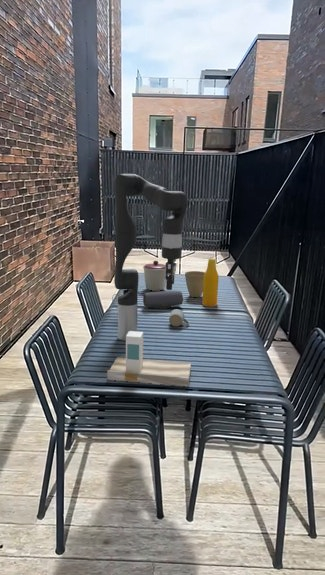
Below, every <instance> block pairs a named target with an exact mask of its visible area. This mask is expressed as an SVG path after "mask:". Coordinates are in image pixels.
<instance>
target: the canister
mask: <svg viewBox="0 0 325 575" xmlns="http://www.w3.org/2000/svg"><path fill="white" fill-rule="evenodd" d="M142 268H143V275H144V284H145V289H146V290H147V289H148V290H147V291H150V290H152V291H151V292H161V291H160V290H162V291H164V289H165V288H166V279H165V277H166V273H165V271H166V267H165V264H163V263H159V261H158V260H153V262H152V263H147V264H145V265H143V266H142Z"/></svg>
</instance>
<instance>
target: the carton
mask: <svg viewBox="0 0 325 575" xmlns="http://www.w3.org/2000/svg"><path fill="white" fill-rule="evenodd" d="M125 358H126V371H130V372H141V369H142V367H143V358H144V331H137V332H136V331H129V332H128V334H127V335H126V341H125Z"/></svg>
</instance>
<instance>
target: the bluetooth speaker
mask: <svg viewBox="0 0 325 575" xmlns="http://www.w3.org/2000/svg"><path fill="white" fill-rule="evenodd" d="M142 297H143V298H142V302H143V306H144V307H145V308H154V309H155V308H160V309H168V308H167V307H171V308H172V307H175V306H180V305H183V303H184V298H183V292H182V291H181V290H168V291H167V290H166V291H164V290H162V291H150V292H145V293H143V296H142Z"/></svg>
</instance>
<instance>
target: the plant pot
mask: <svg viewBox="0 0 325 575" xmlns="http://www.w3.org/2000/svg"><path fill="white" fill-rule="evenodd" d="M205 272H206V271H199V270H193V271H192V270H191V271H186V272H184V278H185V282H186V288H187V291H188V295H189V297H190V296H191V297H190V298H193V297H199V298H201V297H202V296H203V281H204V274H205Z"/></svg>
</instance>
